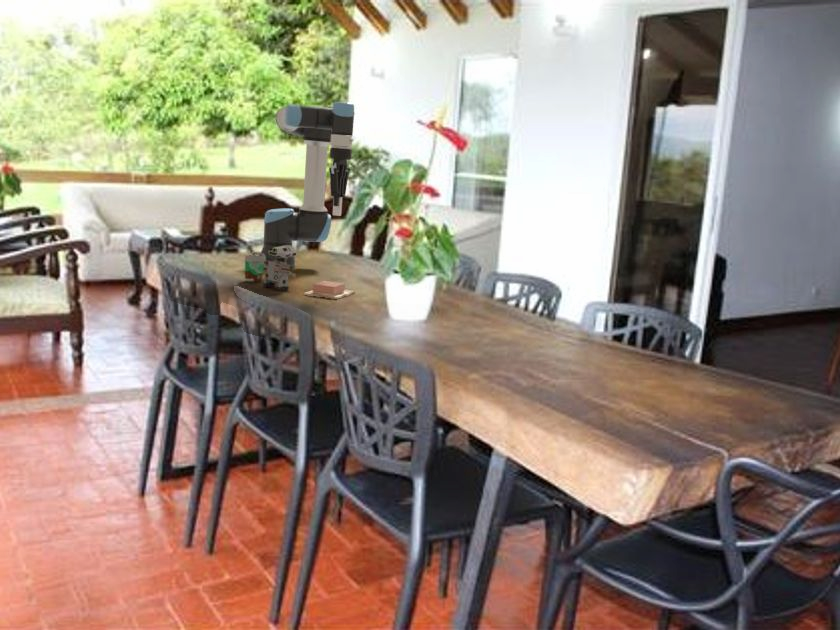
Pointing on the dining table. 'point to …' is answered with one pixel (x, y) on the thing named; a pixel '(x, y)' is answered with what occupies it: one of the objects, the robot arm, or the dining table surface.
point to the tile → (328, 288)
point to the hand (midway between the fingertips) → (336, 215)
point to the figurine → (279, 267)
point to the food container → (254, 267)
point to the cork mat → (345, 293)
